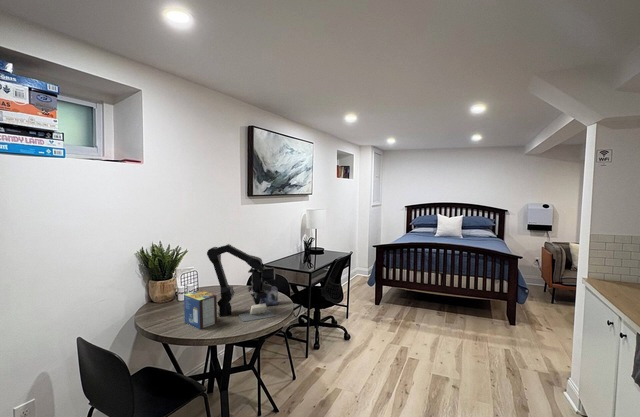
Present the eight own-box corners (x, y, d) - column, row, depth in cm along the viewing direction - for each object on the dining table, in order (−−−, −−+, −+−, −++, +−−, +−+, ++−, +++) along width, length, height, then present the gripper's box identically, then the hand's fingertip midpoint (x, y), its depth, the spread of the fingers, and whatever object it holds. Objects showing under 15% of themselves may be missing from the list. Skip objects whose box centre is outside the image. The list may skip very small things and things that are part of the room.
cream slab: (250, 314, 192) (252, 308, 189) (250, 311, 194) (251, 305, 190) (264, 312, 196) (266, 306, 193) (263, 309, 197) (265, 303, 194)
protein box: (201, 317, 190) (201, 290, 190) (217, 323, 180) (217, 295, 180) (184, 322, 182) (183, 294, 181) (199, 330, 172) (199, 299, 172)
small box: (261, 307, 207) (261, 290, 206) (259, 304, 213) (258, 287, 212) (278, 305, 211) (278, 288, 210) (275, 302, 217) (275, 285, 216)
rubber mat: (243, 322, 183) (243, 321, 183) (238, 315, 193) (238, 314, 193) (275, 316, 191) (275, 315, 191) (268, 310, 201) (268, 309, 201)
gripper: (275, 281, 189) (276, 309, 190) (265, 274, 206) (265, 300, 207) (256, 284, 184) (256, 312, 185) (247, 276, 201) (247, 302, 202)
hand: (257, 306), depth 195 cm, fingers closed
